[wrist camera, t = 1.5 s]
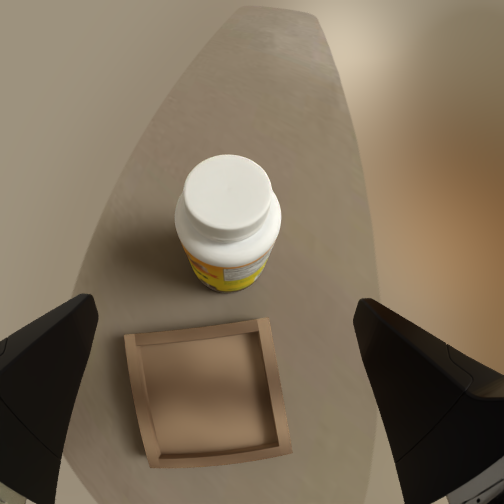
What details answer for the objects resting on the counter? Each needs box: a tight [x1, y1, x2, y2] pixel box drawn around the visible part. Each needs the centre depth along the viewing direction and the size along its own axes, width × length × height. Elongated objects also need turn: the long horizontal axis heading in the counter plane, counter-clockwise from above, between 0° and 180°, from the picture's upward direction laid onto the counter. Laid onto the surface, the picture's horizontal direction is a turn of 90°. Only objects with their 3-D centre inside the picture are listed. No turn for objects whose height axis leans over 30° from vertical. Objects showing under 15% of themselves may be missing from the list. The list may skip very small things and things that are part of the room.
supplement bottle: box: [175, 155, 281, 293], centre depth 17 cm, size 6×6×10 cm
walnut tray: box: [124, 317, 293, 468], centre depth 17 cm, size 10×10×2 cm
